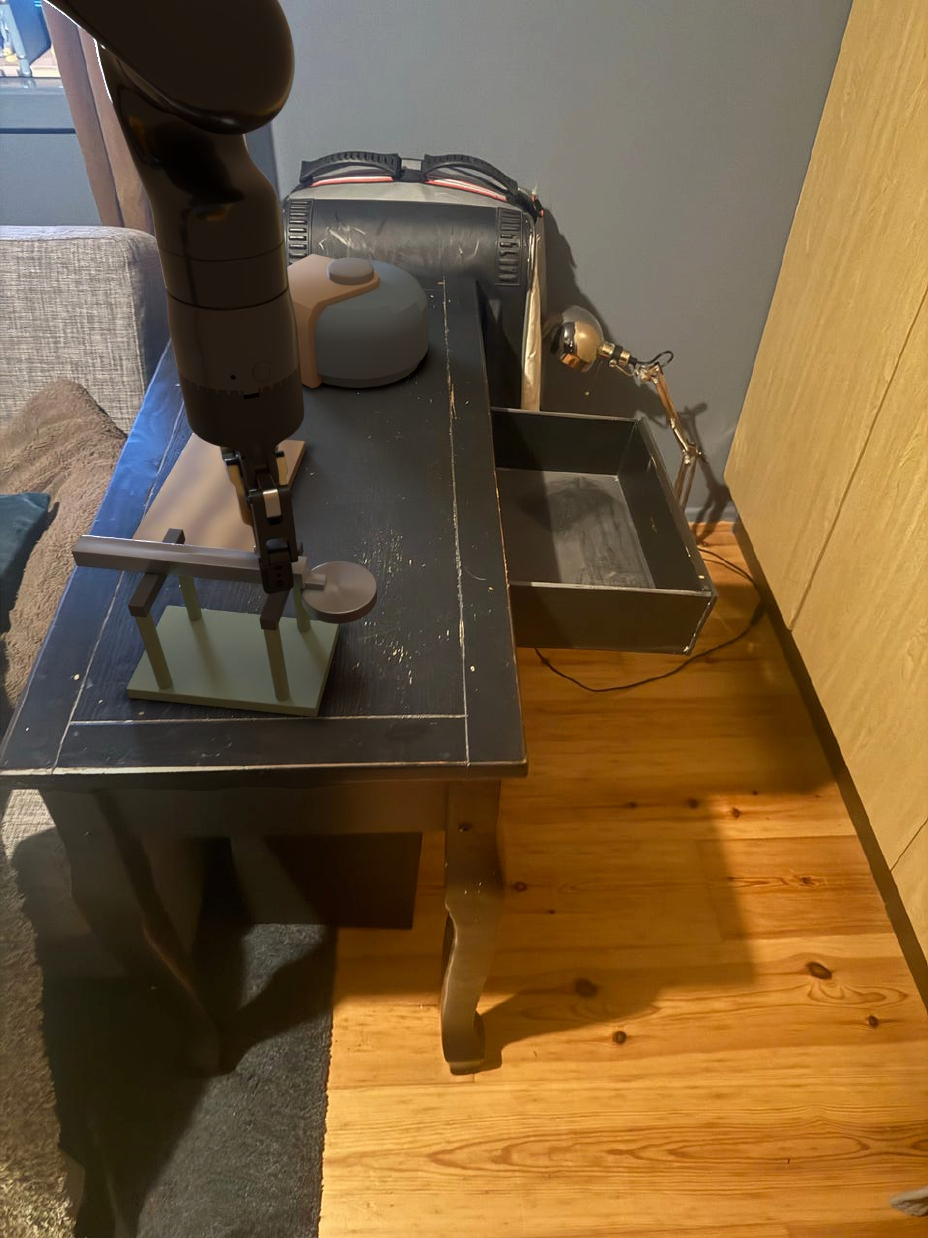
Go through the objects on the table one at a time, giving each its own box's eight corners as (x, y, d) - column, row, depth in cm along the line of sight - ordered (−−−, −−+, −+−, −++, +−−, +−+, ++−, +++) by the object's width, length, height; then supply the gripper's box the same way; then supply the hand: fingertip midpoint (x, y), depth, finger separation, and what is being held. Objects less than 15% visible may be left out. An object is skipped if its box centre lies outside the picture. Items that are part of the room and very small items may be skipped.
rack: (129, 697, 69) (93, 605, 61) (169, 614, 76) (142, 521, 68) (316, 717, 69) (305, 627, 61) (339, 631, 76) (332, 540, 68)
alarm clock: (278, 324, 116) (268, 236, 108) (418, 320, 119) (419, 234, 111) (280, 395, 103) (268, 302, 95) (437, 388, 106) (440, 297, 98)
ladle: (71, 597, 64) (59, 568, 61) (102, 547, 68) (91, 518, 66) (370, 627, 63) (369, 599, 61) (382, 575, 67) (381, 546, 65)
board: (124, 564, 80) (121, 555, 80) (196, 439, 96) (194, 430, 95) (255, 577, 80) (254, 568, 79) (305, 449, 95) (305, 441, 95)
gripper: (161, 311, 54) (201, 506, 66) (193, 424, 45) (233, 627, 57) (273, 299, 57) (293, 490, 68) (326, 405, 48) (339, 604, 59)
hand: (266, 552), depth 62 cm, fingers open, 8 cm apart
